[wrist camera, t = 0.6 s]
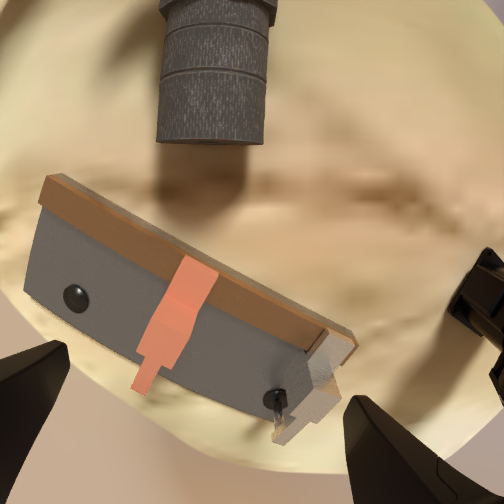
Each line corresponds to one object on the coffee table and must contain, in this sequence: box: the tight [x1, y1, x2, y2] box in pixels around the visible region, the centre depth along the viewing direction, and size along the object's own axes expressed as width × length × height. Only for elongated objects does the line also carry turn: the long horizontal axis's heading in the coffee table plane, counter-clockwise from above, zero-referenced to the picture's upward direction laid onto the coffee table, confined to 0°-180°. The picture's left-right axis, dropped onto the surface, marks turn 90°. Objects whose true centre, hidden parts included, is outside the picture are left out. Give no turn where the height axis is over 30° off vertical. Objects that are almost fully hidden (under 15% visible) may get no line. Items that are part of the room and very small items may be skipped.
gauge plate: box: [23, 173, 359, 446], centre depth 19 cm, size 24×10×6 cm, turn 60°
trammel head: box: [131, 255, 219, 396], centre depth 18 cm, size 2×8×4 cm, turn 150°
